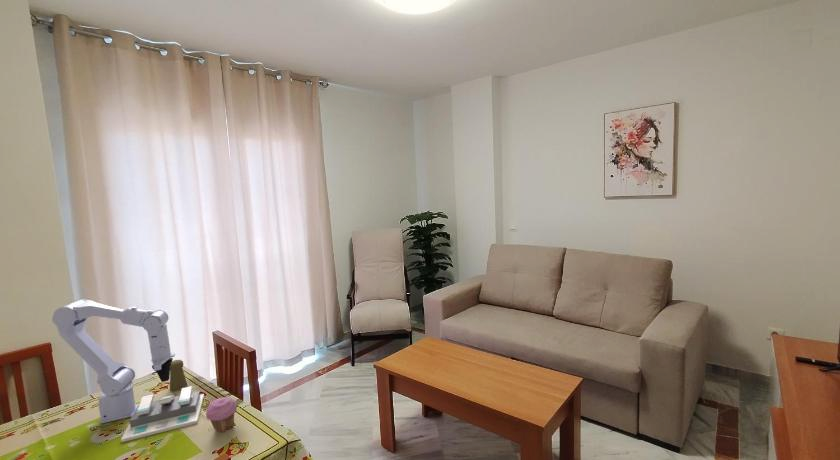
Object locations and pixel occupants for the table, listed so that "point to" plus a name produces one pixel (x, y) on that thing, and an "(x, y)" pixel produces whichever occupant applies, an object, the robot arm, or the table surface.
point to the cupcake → (221, 413)
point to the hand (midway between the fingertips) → (165, 380)
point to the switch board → (170, 425)
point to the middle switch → (166, 400)
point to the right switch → (185, 395)
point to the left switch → (145, 405)
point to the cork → (177, 376)
